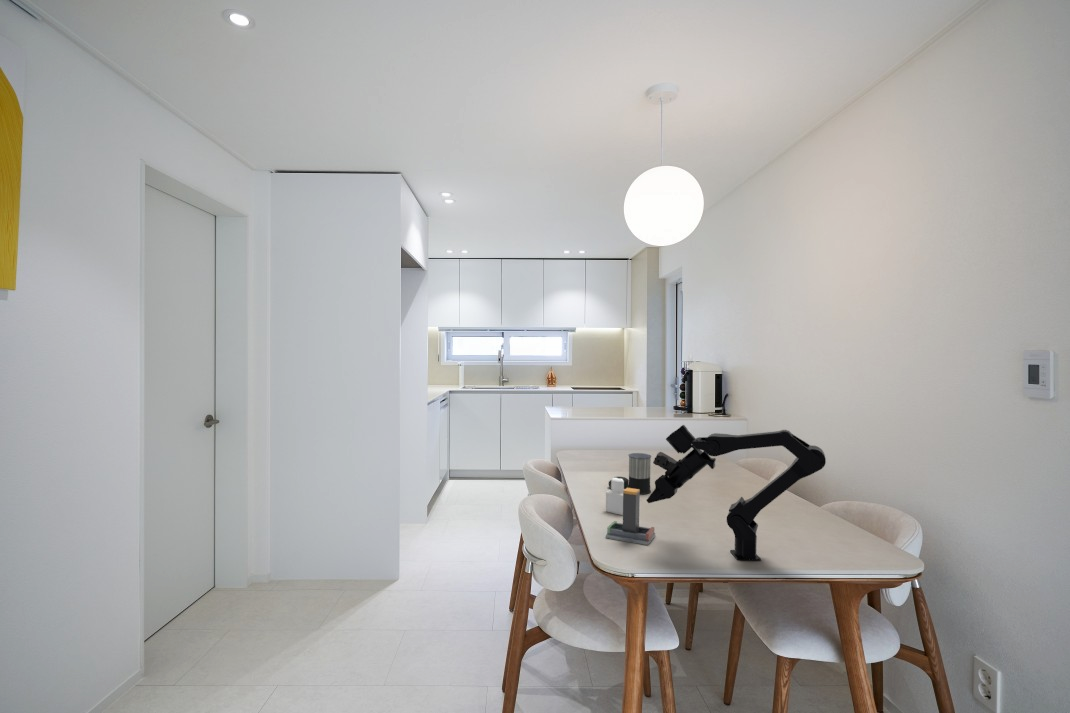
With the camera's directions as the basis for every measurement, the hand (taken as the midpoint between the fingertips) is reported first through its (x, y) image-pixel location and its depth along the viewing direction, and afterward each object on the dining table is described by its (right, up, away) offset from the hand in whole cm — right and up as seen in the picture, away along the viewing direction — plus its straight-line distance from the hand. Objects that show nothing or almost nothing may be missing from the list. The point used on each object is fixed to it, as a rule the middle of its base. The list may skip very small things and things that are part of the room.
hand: (651, 497), depth 165 cm
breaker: (-6, -11, +3) cm, 13 cm away
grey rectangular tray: (-6, -13, +3) cm, 14 cm away
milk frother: (+3, -12, +58) cm, 59 cm away
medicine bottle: (-5, -13, +29) cm, 32 cm away
